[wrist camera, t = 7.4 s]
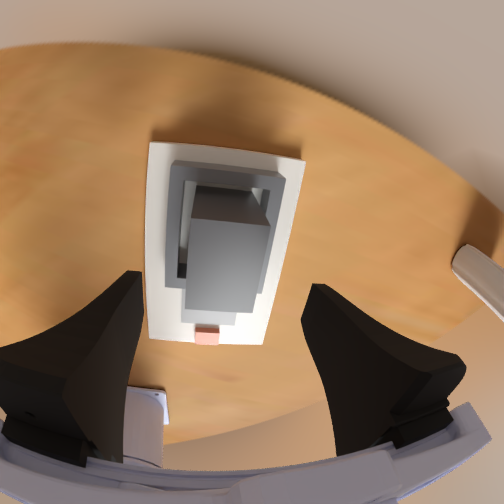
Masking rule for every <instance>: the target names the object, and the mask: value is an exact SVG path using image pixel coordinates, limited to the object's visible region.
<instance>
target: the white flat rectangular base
mask: <svg viewBox="0 0 504 504" xmlns="http://www.w3.org/2000/svg"><path fill="white" fill-rule="evenodd" d="M305 164H306V161H304V160H302V159H298V158H292V157H287V156H281V155H275V154H269V153H262V152H256V151H249V150H242V149H234V148H226V147H218V146H208V145H198V144H187V143H175V142H159V141H152V142H150V147H149V158H148V171H147V187H146V210H145V276H146V299H147V315H148V328H149V339H159V340H170V341H183V342H195V344H204V345H218V344H262V343H263V339H264V336H265V332H266V328H267V324H268V320H269V317H270V313H271V309H272V305H273V301H274V297H275V293H276V289H277V285H278V281H279V277H280V273H281V269H282V265H283V261H284V257H285V253H286V249H287V244H288V240H289V236H290V232H291V227H292V223H293V219H294V214H295V210H296V206H297V201H298V197H299V192H300V187H301V183H302V178H303V174H304V169H305ZM196 185H200V186H209V187H219V188H228V189H236V190H245V191H252V192H253V194H254V196H255V198H256V199H257V201H258V203H259V205H260V207H261V209H262V210H263V212H264V214H265V216H266V218H267V220H268V221H269V223H270V225H271V229H270V234H269V239H268V244H267V248H266V253H265V258H264V262H263V267H262V272H261V276H260V281H259V286H258V290H257V295H256V299H255V304H254V308H253V313H237V312H219V311H203V310H190V309H185V292H186V274H187V259H188V246H189V234H190V222H191V214H192V208H193V202H194V196H195V190H196Z"/></svg>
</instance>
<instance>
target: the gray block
mask: <svg viewBox="0 0 504 504" xmlns="http://www.w3.org/2000/svg"><path fill="white" fill-rule="evenodd" d="M270 229H271V225H270V223H269V221H268V220H267V218H266V216H265V214H264V212H263V210H262V209H261V207H260V205H259V203H258V201H257V199H256V198H255V196H254V194H253V192H252V191H245V190H236V189H228V188H219V187H209V186H200V185H196V190H195V196H194V202H193V208H192V214H191V222H190V234H189V246H188V259H187V274H186V292H185V309H190V310H203V311H219V312H237V313H253V308H254V304H255V299H256V295H257V290H258V286H259V281H260V276H261V272H262V267H263V262H264V258H265V253H266V248H267V244H268V239H269V234H270Z"/></svg>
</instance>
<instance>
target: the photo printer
mask: <svg viewBox="0 0 504 504" xmlns="http://www.w3.org/2000/svg"><path fill="white" fill-rule="evenodd" d="M452 266H453V267H452V271H453V272H454V274H455V275H456V276H457V277H458V279H460V280H461V281H462V283H464V284H465V285H466V286H467V287H468V288H469V289H470V290H471V291H473V292H474V293H475V294H476V295H477V296H478V297H479V298H480V299H481V300H482V301H483V302H484V303H485V304H486V305H488V306H489V307H490V308H491V309H492V310H493V311H494V313H496V315H497V316H499V318H501V320H503V322H504V269H503V268H502V267H501V266H499V265H498V264H497V263H496V262H494V261H493V260H492V259H490V258H489V257H488V256H486V255H485V254H484V253H482V252H481V251H479V250H478V249H476V248H475V247H473V246H471V245H469V244H466V246H463V247H461V248H460V250H459V251H458V252H457V254H456V255H455V257H454V260H453V262H452Z"/></svg>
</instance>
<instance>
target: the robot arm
mask: <svg viewBox="0 0 504 504" xmlns="http://www.w3.org/2000/svg"><path fill="white" fill-rule="evenodd" d="M143 315H144V304H143V287H142V272H140V271H129V270H128V271H126V272H125V273H124V274H123V275H122V276H121V277H120V278H118V279H117V280H116V281H115V282H114V283H113V284H112V285H111V286H110V287H109V288H107V289H106V290H105V291H104V292H103V293H102V294H101V295H99V296H98V297H97V298H96V299H94V300H93V301H92V302H91V303H89V304H88V305H87V306H86V307H84V308H83V309H82V310H80V311H79V312H77V313H76V314H74V315H73V316H71V317H70V318H68V319H66V320H65V321H63V322H61V323H59V324H58V325H56V326H54V327H52V328H50V329H48V330H46V331H44V332H42V333H40V334H38V335H35V336H33V337H30V338H28V339H25V340H23V341H20V342H16V343H13V344H10V345H7V346H3V347H0V407H1V408H2V409H3V410H4V412H5V413H6V414H7V416H6V420H5V422H4V421H3V420H1V419H0V492H2V493H4V494H6V495H8V496H10V497H12V498H14V499H16V500H18V501H20V502H22V503H24V504H398V503H397V501H399V500H401V499H403V498H405V497H407V496H409V495H411V494H413V493H415V492H417V491H419V490H421V489H423V488H424V487H426V486H428V485H430V484H431V483H433V482H435V481H436V480H438V479H440V478H441V477H443V476H445V475H446V474H448V473H449V472H451V471H453V470H454V469H456V468H457V467H458V466H460V465H461V464H463V463H464V462H465V461H466V460H468V459H469V458H471V457H472V456H473V455H474V454H476V453H477V452H478V451H479V450H480V449H482V448H483V447H484V446H485V445H486V444H488V443H489V442H490V441H491V440H492V438H491V436H490V435H489V433H488V431H487V429H486V428H485V426H484V425H483V423H482V421H481V420H480V418H479V417H478V415H477V413H476V412H475V410H474V409H473V407H472V406H471V404H470V403H469V402H466V403H464V404H462V405H460V406H458V407H456V408H454V409H453V410H452V411H450V412H449V411H448V410H447V408H446V407H448V406H449V404H450V403H449V401H448V400H447V397H448V395H450V393H451V392H452V391H453V390H454V389H455V388H456V386H457V385H458V384H459V383H460V381H461V380H462V379H463V377H464V375H465V372H466V365H465V364H464V362H463V361H462V360H461V359H460V357H459V356H458V355H456V354H453V353H449V352H445V351H441V350H437V349H434V348H431V347H428V346H426V345H423V344H420V343H418V342H415V341H413V340H411V339H409V338H407V337H404V336H402V335H400V334H398V333H396V332H395V331H393V330H391V329H389V328H388V327H386V326H384V325H382V324H381V323H379V322H378V321H376V320H375V319H373V318H372V317H370V316H369V315H367V314H366V313H364V312H363V311H362V310H360V309H359V308H358V307H356V306H355V305H353V304H352V303H351V302H350V301H348V300H347V299H346V298H344V297H343V296H342V295H340V294H339V293H338V292H336V291H335V290H333V289H332V288H331V287H329V286H327V285H326V284H313V283H312V286H311V290H310V293H309V296H308V299H307V302H306V305H305V308H304V311H303V314H302V317H301V324H302V328H303V332H304V336H305V340H306V342H307V345H308V347H309V350H310V352H311V355H312V357H313V360H314V362H315V365H316V367H317V370H318V372H319V374H320V377H321V380H322V383H323V386H324V389H325V393H326V397H327V401H328V405H329V410H330V414H331V419H332V425H333V431H334V437H335V445H336V455H337V457H334V458H329V459H325V460H319V461H315V462H309V463H303V464H297V465H290V466H283V467H275V468H265V469H254V470H237V471H186V470H170V469H163V427H164V424H169V415H168V407H167V398H166V392H165V391H163V390H156V389H146V388H138V387H130V386H127V384H128V378H129V374H130V370H131V366H132V362H133V358H134V355H135V351H136V347H137V344H138V340H139V337H140V333H141V327H142V321H143Z"/></svg>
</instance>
